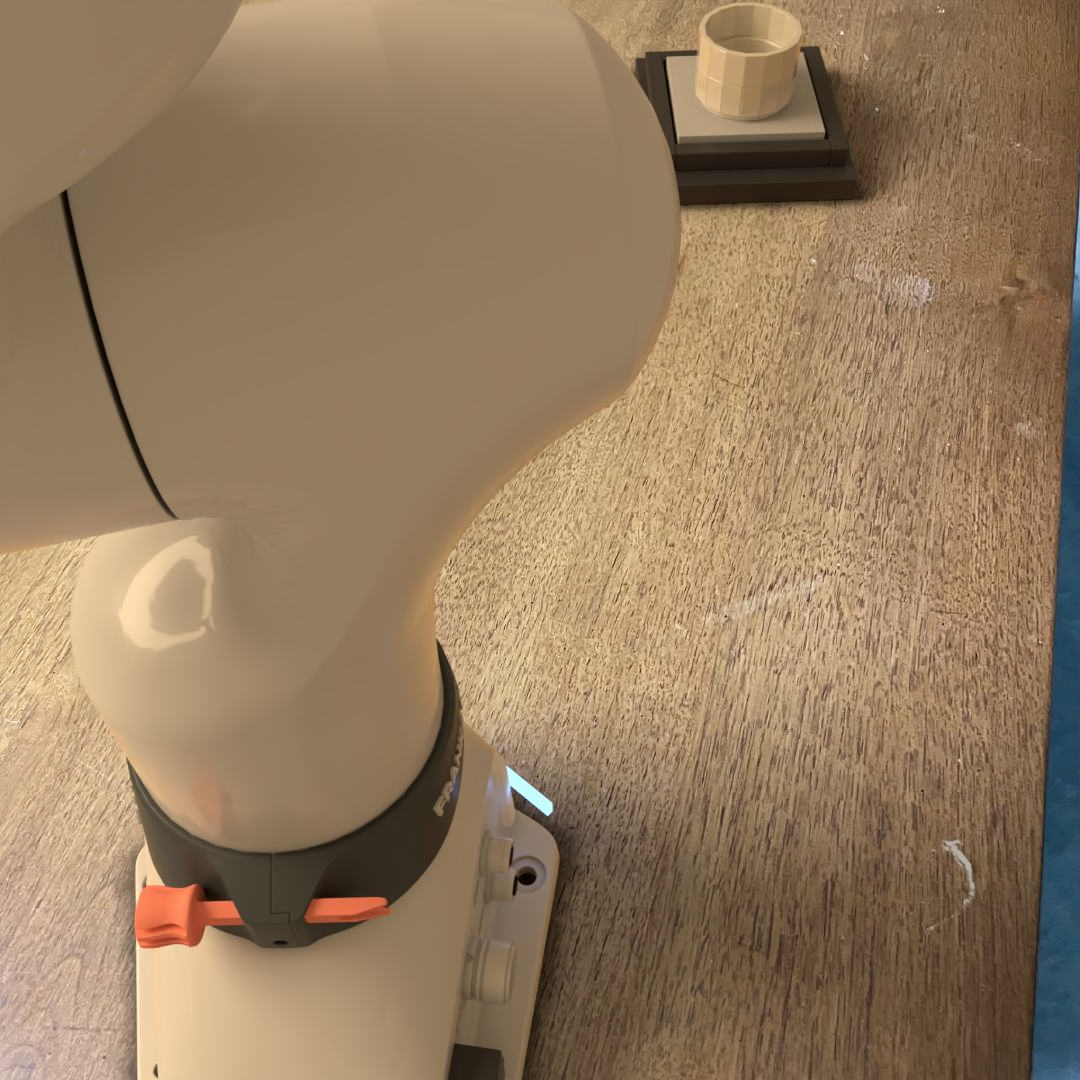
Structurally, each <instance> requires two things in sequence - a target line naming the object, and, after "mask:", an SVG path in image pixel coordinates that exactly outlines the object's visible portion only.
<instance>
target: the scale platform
mask: <svg viewBox="0 0 1080 1080" xmlns="http://www.w3.org/2000/svg"><path fill="white" fill-rule="evenodd" d="M696 58H697V56H674V57H667V60H666V82H667V88H668V95H669V102H670V109H671V116H672V122H673V129H674V136H675V143H676V144H698V143H729V142H759V141H790V140H820V139H824V137H825V128H824V125H823V121H822V118H821V114H820V111H819V107H818V103H817V100H816V96H815V93H814V89H813V86H812V82H811V78H810V75H809V71H808V68H807V64H806V60H805V57H804V53H803V52H800V54H799V61H798V67H797V73H796V80H795V86H794V93H793V95H792V97H791V99H790V101H789V103H788V104H787V105H785V106H784V107H783V108H782V109H781V110H780V111H779V112H778V113H776V114H774V115H772V116H770V117H767V118H764V119H760V120H752V121H739V120H732V119H727V118H723V117H720V116H718V115H716V114H714V113H712V112H710V111H709V110H708V109H706V108H705V107H704V106H703V104H702V103H701V101H700V100H699V99H698V97H697V96H696V93H695V86H694V82H695V70H696Z"/></svg>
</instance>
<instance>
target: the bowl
mask: <svg viewBox="0 0 1080 1080" xmlns="http://www.w3.org/2000/svg"><path fill="white" fill-rule="evenodd" d="M698 25H699V26H698V35H697V47H696V50H697V58H696V70H695V82H694V86H695V93H696V96H697V97H698V99H699V100H700V101H701V103H702V104H703V106H704V107H705V108H706V109H708V110H709V111H710V112H712V113H714V114H716V115H718V116H720V117H723V118H727V119H732V120H739V121H752V120H760V119H764V118H767V117H770V116H772V115H774V114H776V113H778V112H779V111H780V110H781V109H782V108H783V107H784V106H785V105H787V104H788V103H789V101H790V99H791V97H792V95H793V93H794V86H795V80H796V73H797V67H798V61H799V54H800V48H801V47H802V40H803V34H804V31H803V27H802V25H801V21H800V20H799V19H798V18H797V17H796V16H794V15H793V14H792V13H791V12H790V11H787V10H785V9H783V8H781V7H778V6H777V5H773V4H768V3H761V2H756V1H755V2H754V1H749V2H733V3H729V4H724V5H721V6H717V7H716V8H714V9H712V10H711V11H709V12H708V13H706V14H705V15H704V17H703V18H702V20H701V21H700V22H699V24H698Z"/></svg>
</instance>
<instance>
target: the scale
mask: <svg viewBox="0 0 1080 1080" xmlns="http://www.w3.org/2000/svg"><path fill="white" fill-rule="evenodd" d="M800 52H803V53H804V57H805V60H806V64H807V68H808V71H809V75H810V78H811V82H812V86H813V89H814V93H815V96H816V100H817V103H818V107H819V111H820V114H821V118H822V121H823V125H824V128H825V137H824V139H820V140H790V141H759V142H729V143H698V144H676V143H675V136H674V129H673V122H672V116H671V109H670V102H669V95H668V88H667V82H666V60H667V57H674V56H697V49H687V50H686V49H685V50H662V51H661V50H659V51H655V50H654V51H645V52H644V57H636V58H635V63H634V64H635V65H634V67H635V68H634V76H635V77H636V79H637V81H638V82H639V84H640V86H641V88H642V89H643V91H644V93H645V94H646V96H647V98H648V100H649V101H650V103H651V105H652V107H653V109H654V111H655V113H656V116H657V118H658V121H659V123H660V126H661V128H662V131H663V133H664V136H665V138H666V141H667V144H668V147H669V150H670V153H671V157H672V161H673V165H674V170H675V174H676V180H677V186H678V193H679V201H680V206H681V205H708V204H709V205H711V204H739V203H740V204H742V203H744V204H745V203H770V202H771V203H773V202H803V201H834V200H835V201H837V200H854V199H855V195H856V190H857V186H858V182H859V179H858V176H857V173H856V168H855V165H854V162H853V159H852V155H851V152H850V146H849V142H848V139H847V136H846V132H845V129H844V126H843V123H842V120H841V115H840V112H839V109H838V106H837V102H836V99H835V95H834V91H833V88H832V85H831V82H830V78H829V75H828V72H827V69H826V65H825V62H824V58H823V55H822V52H821V48H820V46H819V45H812V46H811V45H810V46H808V45H807V46H801V48H800Z"/></svg>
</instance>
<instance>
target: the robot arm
mask: <svg viewBox="0 0 1080 1080" xmlns="http://www.w3.org/2000/svg"><path fill="white" fill-rule="evenodd" d="M243 1H244V0H0V556H5V555H9V554H14V553H19V552H24V551H30V550H34V549H35V550H36V549H41V548H44V547H49V546H55V545H59V544H64V543H65V544H66V543H70V542H75V541H80V540H84V539H90V538H95V537H97V539H96V541H95V542H94V544H93V546H92V548H91V550H90V552H89V554H88V556H87V558H86V560H85V561H84V564H83V567H82V568H81V571H80V573H79V576H78V577H77V578H78V579H77V582H76V585H75V587H74V588H75V589H74V591H73V596H72V600H71V606H70V607H71V608H70V621H69V633H70V634H69V636H70V644H71V652H72V657H73V662H74V666H75V670H76V673H77V676H78V678H79V680H80V684H81V686H82V687H83V690H84V691H85V694H86V696H87V697H88V698H89V700H90V702H91V704H92V705H93V707H94V708H95V709H96V711H97V712H98V714H99V716H100V717H101V719H102V721H103V722H104V724H105V725H106V726H107V728H108V730H109V731H110V733H111V735H112V737H113V738H114V739H115V741H116V743H117V744H118V746H119V748H120V749H121V750H122V753H123V754H124V755H125V759H126V765H127V769H128V777H129V786H130V793H131V798H132V799H133V803H134V804H133V807H134V811H135V815H136V818H137V822H138V825H141V826H142V829H143V833H144V834H143V836H144V846H143V847H142V848H141V849H140V851H139V852H138V855H137V857H136V861H135V866H134V867H135V868H134V869H135V871H134V872H135V873H134V875H135V877H134V879H135V914H134V929H135V930H134V932H135V933H134V934H135V968H136V969H135V971H136V972H135V977H136V1067H137V1068H136V1071H137V1074H136V1076H137V1079H136V1080H523V1074H524V1068H525V1064H526V1063H525V1062H526V1057H527V1051H528V1045H529V1039H530V1034H531V1029H532V1023H533V1017H534V1010H535V1006H536V1000H537V994H538V987H539V982H540V978H541V971H542V966H543V961H544V960H543V959H544V956H545V955H544V954H545V949H546V942H547V937H548V931H549V926H550V920H551V915H552V909H553V903H554V897H555V892H556V885H557V880H558V875H559V868H560V862H561V861H560V852H559V849H558V848H559V847H558V844H557V842H556V839H555V837H554V836H553V835H552V834H551V832H550V831H549V830H548V829H547V828H546V827H544V826H543V825H541V824H540V823H539V822H537V821H536V820H534V819H532V818H531V817H530V816H528V815H526V814H525V813H523V812H521V811H520V810H518V809H516V808H515V804H514V803H515V802H514V798H513V793H512V788H513V789H514V790H516V792H517V793H519V794H520V795H522V797H524V798H525V799H526V800H527V801H529V803H531V804H532V805H534V806H535V808H537V809H539V811H541V812H542V813H543V814H544V815H546V816H547V817H549V815H551V814H552V813H553V802H552V801H551V800H549V799H548V798H547V797H546V796H544V795H543V794H542V793H541V792H539V790H538V789H536V788H535V787H533V786H532V785H531V784H530V783H529V782H527V781H526V780H525V779H524V778H522V777H521V776H520V775H519V774H518V773H516V772H515V771H514V770H513V769H512V768H510V767H509V766H508V765H507V763H506V759H505V757H503V755H501V754H500V753H498V752H497V749H496V748H495V747H493V745H491V744H490V743H488V741H487V740H485V739H484V737H482V736H481V735H480V734H479V733H478V732H476V731H475V729H473V728H472V727H471V726H470V725H469V724H468V723H467V722H466V721H465V719H464V718H465V717H464V715H463V714H461V711H463V708H464V707H463V702H462V697H461V692H460V689H459V685H458V682H457V679H456V674H455V672H454V670H453V668H452V666H451V664H450V661H449V659H448V657H447V655H446V653H445V650H444V648H443V646H442V644H441V643H440V641H439V639H438V637H437V633H436V616H435V614H436V613H435V612H436V611H435V609H436V608H435V605H436V604H435V603H436V602H435V600H436V597H435V595H436V593H435V591H436V589H435V588H436V585H437V581H438V578H439V576H440V574H441V571H442V569H443V567H444V565H445V564H446V562H447V561H448V559H449V558H450V555H451V554H452V552H453V550H454V549H455V548H456V547H457V545H458V543H459V542H460V540H462V537H463V536H464V534H465V533H466V531H468V529H469V528H470V526H471V525H472V524H473V523H474V522H475V520H476V519H477V518H478V517H479V515H480V514H481V513H482V512H483V510H484V509H485V507H487V505H488V504H489V503H490V502H492V500H493V499H494V498H495V497H496V496H497V495H498V494H499V492H500V491H501V490H502V489H503V488H504V487H505V486H506V485H507V484H508V483H509V482H510V481H511V480H512V479H513V478H515V476H516V475H517V474H519V472H520V471H521V470H523V469H524V467H526V465H528V464H529V463H530V462H532V460H534V459H535V458H536V457H537V456H538V455H540V454H541V453H542V452H543V451H544V450H546V449H547V448H548V447H549V446H551V445H552V444H553V443H555V442H556V441H558V440H559V439H560V438H561V437H563V436H564V435H566V434H567V433H569V432H570V431H571V430H573V429H575V428H576V427H577V426H579V425H580V424H582V423H584V422H585V421H586V420H588V419H590V418H591V417H593V416H594V415H595V414H597V413H599V412H600V411H602V410H603V409H605V408H607V407H608V406H610V405H612V404H614V403H615V402H616V401H619V400H620V399H621V398H623V396H624V395H625V394H626V392H628V390H629V388H630V387H631V386H632V384H634V381H635V380H636V378H637V377H638V376H639V374H640V373H641V371H642V370H643V368H644V366H645V364H646V362H647V361H648V359H649V357H650V355H651V353H652V351H653V350H654V348H655V346H656V343H657V341H658V339H659V337H660V334H661V332H662V329H663V327H664V324H665V322H666V319H667V317H668V313H669V310H670V306H671V303H672V299H673V297H674V291H675V288H676V284H677V278H678V272H679V265H680V257H681V245H682V244H681V243H682V214H681V213H682V212H681V205H680V201H679V193H678V186H677V180H676V174H675V170H674V165H673V161H672V157H671V153H670V150H669V147H668V144H667V141H666V138H665V136H664V133H663V131H662V128H661V126H660V123H659V121H658V118H657V116H656V113H655V111H654V109H653V107H652V105H651V103H650V101H649V100H648V98H647V96H646V94H645V93H644V91H643V89H642V88H641V86H640V84H639V82H638V81H637V79H636V77H635V73H633V72H632V70H631V69H630V67H629V66H628V65H627V64H626V62H625V61H624V59H622V57H621V56H620V55H619V53H618V52H617V50H615V48H614V47H613V46H612V44H610V43H609V42H608V41H607V40H606V39H605V37H603V35H601V34H600V33H599V32H598V31H597V30H596V28H594V27H593V26H592V25H591V24H590V23H589V22H588V21H586V20H585V19H584V18H583V17H582V16H580V15H579V14H578V13H577V12H575V11H574V10H573V9H572V8H570V7H569V6H568V5H566V4H564V3H562V2H558V1H554V0H553V1H551V0H271V1H264V2H257V3H252V4H251V3H250V4H244V5H242V4H243ZM524 874H531V875H533V876H534V877H535V881H534V882H533V883H531V884H527V885H525V884H522V883H520V881H519V878H520V877H521V876H522V875H524Z"/></svg>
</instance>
